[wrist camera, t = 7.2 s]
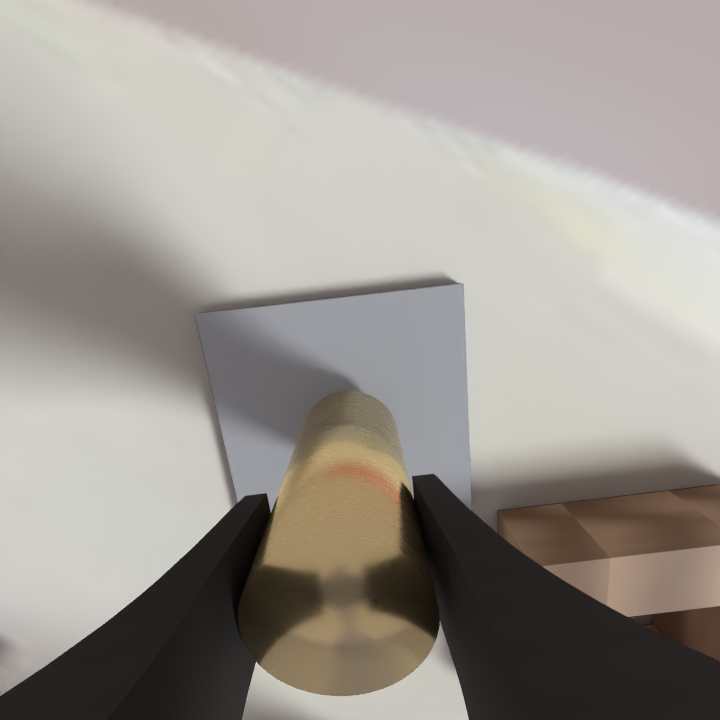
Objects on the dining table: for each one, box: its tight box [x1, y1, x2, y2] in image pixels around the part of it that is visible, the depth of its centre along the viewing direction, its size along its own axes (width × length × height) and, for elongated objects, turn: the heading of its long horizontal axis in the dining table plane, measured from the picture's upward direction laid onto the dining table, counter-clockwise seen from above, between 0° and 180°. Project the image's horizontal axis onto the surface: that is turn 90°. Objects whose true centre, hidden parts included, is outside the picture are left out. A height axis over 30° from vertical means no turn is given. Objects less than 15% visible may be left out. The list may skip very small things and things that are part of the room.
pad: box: [195, 283, 472, 512], centre depth 16 cm, size 11×11×1 cm
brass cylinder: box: [238, 391, 440, 696], centre depth 11 cm, size 4×4×8 cm
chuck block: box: [498, 485, 720, 661], centre depth 18 cm, size 12×12×4 cm
